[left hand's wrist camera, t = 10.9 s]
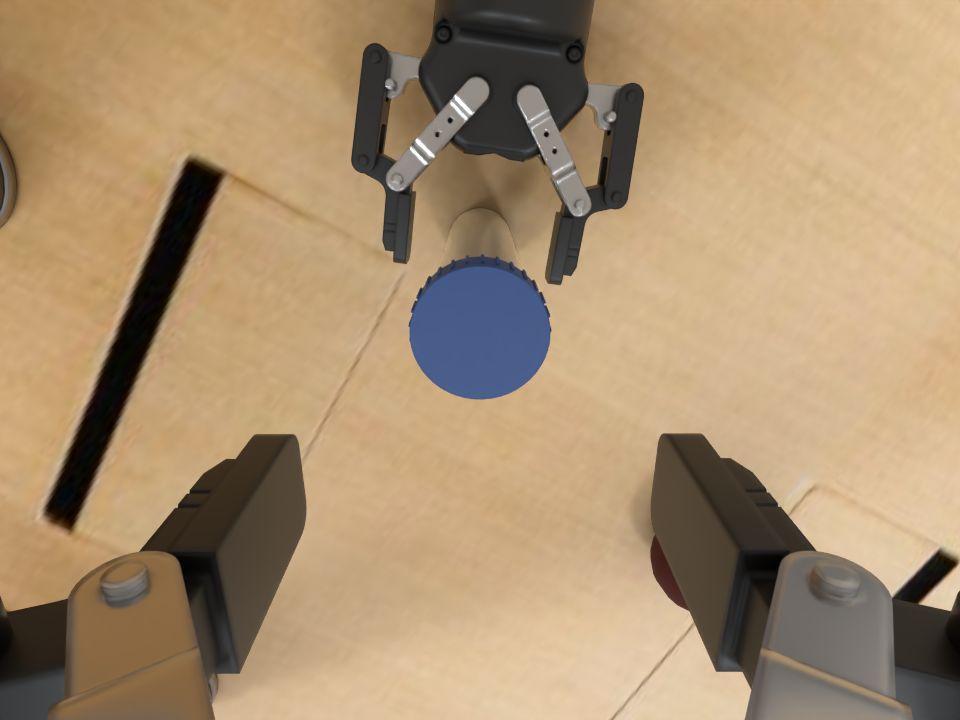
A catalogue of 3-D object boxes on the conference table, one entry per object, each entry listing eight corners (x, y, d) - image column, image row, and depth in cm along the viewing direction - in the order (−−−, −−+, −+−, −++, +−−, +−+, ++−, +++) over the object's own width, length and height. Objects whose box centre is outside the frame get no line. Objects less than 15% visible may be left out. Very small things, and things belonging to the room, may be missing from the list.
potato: (741, 493, 45) (786, 553, 39) (723, 573, 48) (762, 642, 41) (647, 490, 45) (675, 551, 39) (634, 571, 48) (659, 640, 41)
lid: (409, 377, 22) (403, 395, 21) (416, 247, 20) (410, 257, 19) (538, 388, 22) (542, 407, 21) (555, 260, 21) (561, 270, 19)
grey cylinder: (446, 268, 39) (417, 380, 21) (451, 205, 38) (424, 267, 19) (507, 273, 39) (531, 390, 21) (514, 211, 38) (546, 278, 20)
